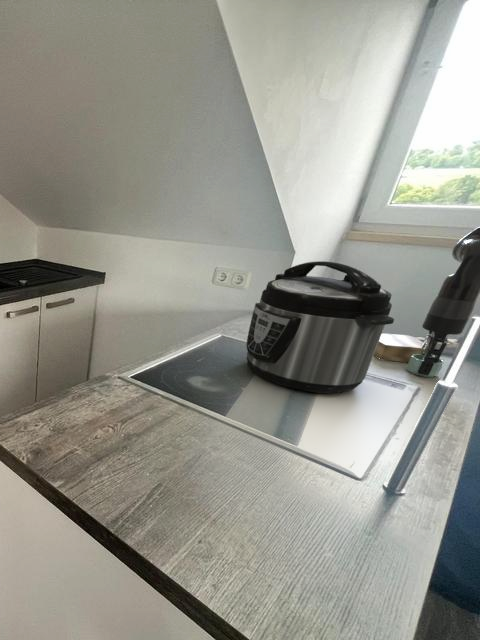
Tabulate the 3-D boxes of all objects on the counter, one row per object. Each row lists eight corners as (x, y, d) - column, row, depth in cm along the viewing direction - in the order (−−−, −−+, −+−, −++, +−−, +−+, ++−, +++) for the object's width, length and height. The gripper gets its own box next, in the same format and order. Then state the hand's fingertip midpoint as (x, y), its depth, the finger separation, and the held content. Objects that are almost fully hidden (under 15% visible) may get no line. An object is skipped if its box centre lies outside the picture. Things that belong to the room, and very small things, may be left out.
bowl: (433, 371, 112) (440, 357, 110) (440, 379, 107) (447, 365, 105) (403, 366, 115) (409, 352, 113) (408, 374, 110) (415, 360, 108)
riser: (404, 349, 126) (411, 335, 124) (428, 364, 116) (435, 349, 114) (359, 346, 130) (365, 332, 128) (378, 360, 119) (385, 345, 117)
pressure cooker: (236, 348, 129) (260, 251, 117) (343, 363, 118) (383, 256, 105) (241, 386, 105) (273, 269, 92) (377, 410, 93) (434, 278, 80)
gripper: (472, 323, 97) (443, 382, 103) (466, 310, 106) (439, 365, 113) (430, 317, 101) (404, 374, 108) (427, 305, 111) (403, 358, 118)
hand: (422, 369), depth 111 cm, fingers closed on bowl, 6 cm apart
